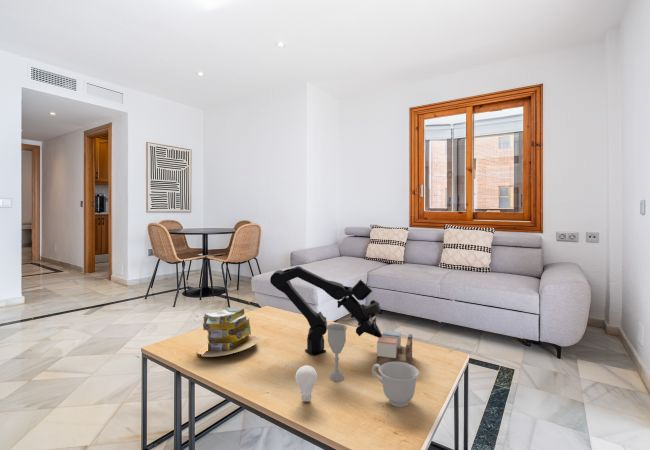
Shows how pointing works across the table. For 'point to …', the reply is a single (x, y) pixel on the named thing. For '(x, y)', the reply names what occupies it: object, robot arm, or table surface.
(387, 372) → the teacup
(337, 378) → the chalice
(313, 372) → the light bulb
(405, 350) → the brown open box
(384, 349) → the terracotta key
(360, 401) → the table surface
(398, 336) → the slate key
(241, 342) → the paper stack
